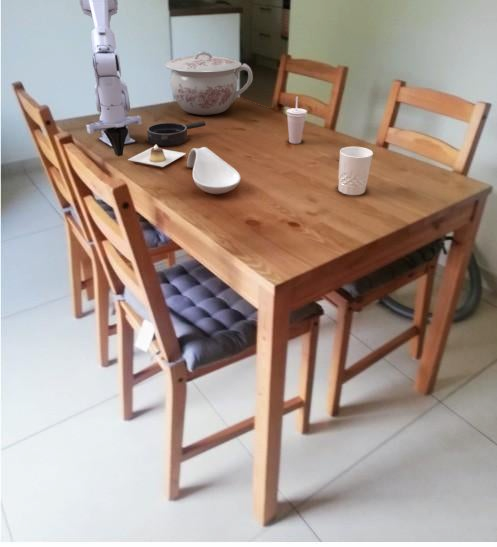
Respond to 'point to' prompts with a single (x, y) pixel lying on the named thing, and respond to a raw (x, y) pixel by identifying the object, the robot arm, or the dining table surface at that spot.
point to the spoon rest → (212, 172)
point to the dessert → (156, 157)
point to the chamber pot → (206, 82)
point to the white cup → (354, 170)
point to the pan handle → (195, 125)
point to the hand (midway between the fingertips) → (119, 154)
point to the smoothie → (296, 123)
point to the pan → (167, 134)
